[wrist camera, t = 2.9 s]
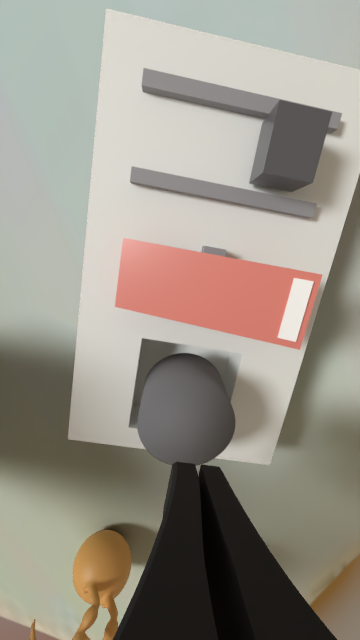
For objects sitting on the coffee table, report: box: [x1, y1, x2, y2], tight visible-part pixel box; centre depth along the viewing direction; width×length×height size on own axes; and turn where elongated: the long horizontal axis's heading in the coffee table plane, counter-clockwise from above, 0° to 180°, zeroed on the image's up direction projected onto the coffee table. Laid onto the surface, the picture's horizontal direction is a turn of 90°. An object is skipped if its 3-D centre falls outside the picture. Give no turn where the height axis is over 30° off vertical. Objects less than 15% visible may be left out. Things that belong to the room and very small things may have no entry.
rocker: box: [115, 238, 322, 350], centre depth 12 cm, size 3×8×1 cm, turn 80°
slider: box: [249, 100, 332, 192], centre depth 11 cm, size 2×2×2 cm
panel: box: [68, 9, 360, 465], centre depth 15 cm, size 20×12×4 cm, turn 170°
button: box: [137, 353, 236, 466], centre depth 14 cm, size 4×4×3 cm
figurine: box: [30, 530, 131, 640], centre depth 16 cm, size 8×6×12 cm
